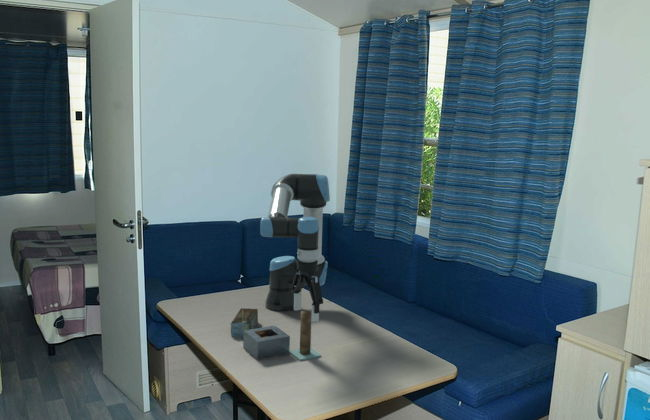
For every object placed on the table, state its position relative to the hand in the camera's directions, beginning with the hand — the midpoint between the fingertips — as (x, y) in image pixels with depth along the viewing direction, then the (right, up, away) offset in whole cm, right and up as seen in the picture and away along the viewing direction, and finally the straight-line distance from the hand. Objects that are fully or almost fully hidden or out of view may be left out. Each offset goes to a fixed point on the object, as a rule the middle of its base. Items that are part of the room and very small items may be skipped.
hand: (306, 315), depth 222 cm
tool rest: (0, -15, +2) cm, 15 cm away
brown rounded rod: (0, -14, +2) cm, 14 cm away
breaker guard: (-15, -14, +4) cm, 21 cm away
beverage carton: (-26, -11, +27) cm, 39 cm away
